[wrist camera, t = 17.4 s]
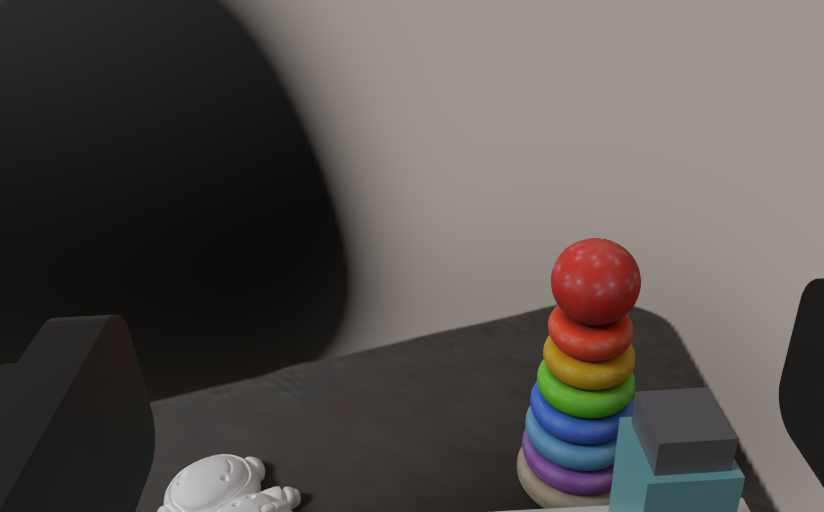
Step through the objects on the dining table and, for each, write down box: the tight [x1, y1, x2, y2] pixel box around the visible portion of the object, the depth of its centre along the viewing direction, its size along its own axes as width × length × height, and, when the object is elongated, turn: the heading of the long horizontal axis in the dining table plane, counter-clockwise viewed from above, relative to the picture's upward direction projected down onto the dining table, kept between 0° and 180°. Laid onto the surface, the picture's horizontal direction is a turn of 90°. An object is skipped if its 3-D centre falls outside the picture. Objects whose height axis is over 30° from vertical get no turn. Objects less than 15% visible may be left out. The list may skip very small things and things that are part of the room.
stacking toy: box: [517, 238, 641, 509], centre depth 48 cm, size 8×8×19 cm
